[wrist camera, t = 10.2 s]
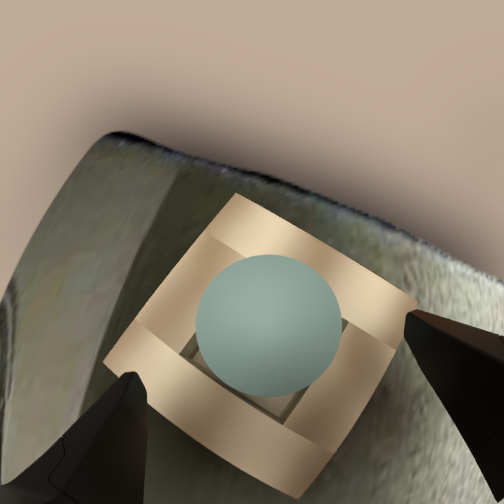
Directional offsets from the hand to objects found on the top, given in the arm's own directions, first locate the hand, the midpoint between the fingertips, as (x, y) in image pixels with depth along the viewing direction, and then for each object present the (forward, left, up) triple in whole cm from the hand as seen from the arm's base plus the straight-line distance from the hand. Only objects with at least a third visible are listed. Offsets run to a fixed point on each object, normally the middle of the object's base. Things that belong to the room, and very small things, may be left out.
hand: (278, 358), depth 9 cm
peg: (+1, -1, -10) cm, 10 cm away
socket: (+1, -1, -10) cm, 10 cm away
